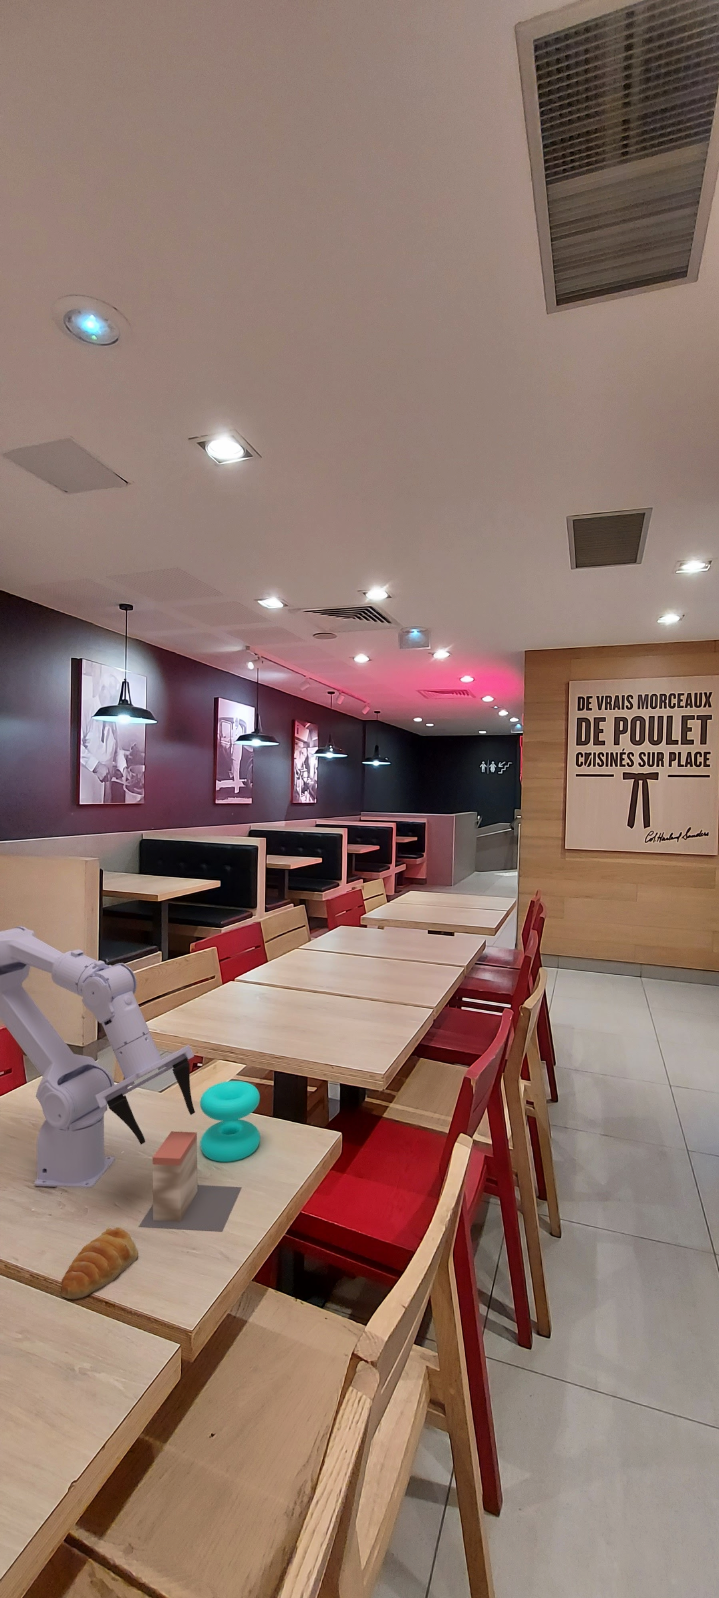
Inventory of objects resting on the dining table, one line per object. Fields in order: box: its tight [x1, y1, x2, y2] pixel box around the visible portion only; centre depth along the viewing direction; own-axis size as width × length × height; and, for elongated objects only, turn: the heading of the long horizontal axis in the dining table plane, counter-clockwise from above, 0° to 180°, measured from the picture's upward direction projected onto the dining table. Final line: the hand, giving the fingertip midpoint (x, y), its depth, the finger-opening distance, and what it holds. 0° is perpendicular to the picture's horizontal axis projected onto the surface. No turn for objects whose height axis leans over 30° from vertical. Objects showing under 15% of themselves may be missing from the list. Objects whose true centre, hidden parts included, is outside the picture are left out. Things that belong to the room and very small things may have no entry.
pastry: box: [60, 1227, 139, 1300], centre depth 82 cm, size 9×7×4 cm
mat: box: [138, 1184, 243, 1233], centre depth 95 cm, size 12×10×1 cm
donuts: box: [199, 1080, 261, 1163], centre depth 111 cm, size 10×10×10 cm
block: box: [152, 1131, 198, 1222], centre depth 95 cm, size 4×7×9 cm, turn 175°
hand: (168, 1128), depth 96 cm, fingers open, 7 cm apart
